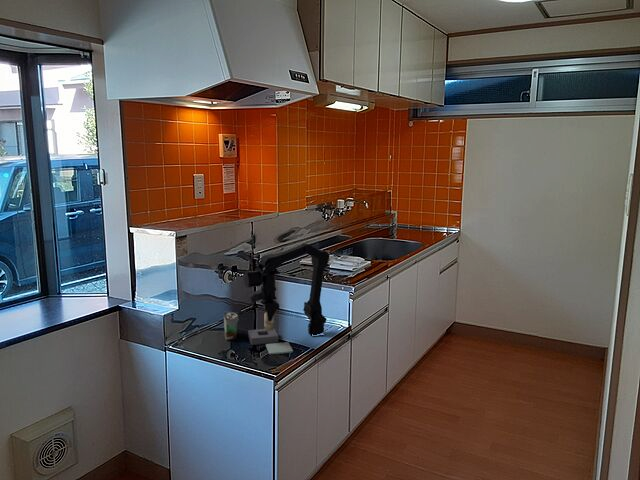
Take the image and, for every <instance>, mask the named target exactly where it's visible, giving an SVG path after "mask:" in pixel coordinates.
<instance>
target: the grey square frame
mask: <svg viewBox="0 0 640 480" xmlns="http://www.w3.org/2000/svg"><path fill="white" fill-rule="evenodd" d="M247 334H248V335H247V337H248V340H249V343H250V345H251V346H253V345H254V346H256V345H266V344H273V343H279V334H278V333H277V331H276V328H274V330H272V331H266V330H264V328H261V329H249V330H247Z"/></svg>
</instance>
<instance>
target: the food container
mask: <svg viewBox="0 0 640 480" xmlns="http://www.w3.org/2000/svg"><path fill="white" fill-rule="evenodd" d="M239 320H240V318H239V316H238V314H237V313H236V312H232V311H223V329H224V330H223V332H224V333H223V334H224V337H225V340H226V341H232V340H235V339H236V338H237V334H238V322H239Z"/></svg>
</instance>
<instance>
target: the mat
mask: <svg viewBox="0 0 640 480" xmlns="http://www.w3.org/2000/svg"><path fill="white" fill-rule="evenodd" d="M265 347H266V349H267V352H268V354H269V355H280V354H289V353H291V354H292V353H294V349H293V348H292V346H291V344H290V343H289V341H287V342H286V341H285V342H278V343H268V344H265Z"/></svg>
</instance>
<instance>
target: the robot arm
mask: <svg viewBox="0 0 640 480" xmlns="http://www.w3.org/2000/svg"><path fill="white" fill-rule="evenodd" d="M304 255H309V256H310V257H311V259H310V260H311V265H312V269H313V270H312V275H311V277H312V278H311V285H310V293H309V298H308V301H304V302H303V310H302V311H303V313H304V315H305V316H306V318H307V320H308V324H307V333H308V335H310V337H311V336H312V334H313V335H317V334H320V333H322V332H324V333H325V324H326V322H327V319H328V318H326V316H324V315H323V309H322V304H321V295H322V294H321V293H322V286H323V279H324V278H323V277H324V271H325V269H326V268H327V266H328V264H329V262H330V254H329V253H328V251H325V250H323V249H320V248H315V247H313V246H312V245H311V244H309V243H305V242H304V243H302V244H300V245H297V246H295V247H292V248H290V249H286V250H283V251H282V252H278V253H270V254H269V253H268V254H264V255H263V256H261V258H260V259H259V261H260V262H259V263H258V264H257V266H256V268H255V270H252V271H250V270H246V272H245V275H244V278H243V282H244V286H245V288H247V289H248V288H254V287H255V288H257V287H260V289H258V290H255V291H252V292H250V293H249V294H248V297H249V299H250V302H251V304H255V303H257V302H259V301H260V303H261V304H262V305H263V310H264V311H265V313H267V316H268V321H271V320H272V318H273V316H275V314H276V312H277V311H278V310H280V303H279V302H278V301H277V296H276V294H277V293H276V291H277V287H276V276H277V275H280V274H281V272H280V271H279V270H278V268H279V267H280V266H282V264H284V263H286V262H289V261H290V260H291V261H292V260H294V259H296V258H298V257H301V256H304Z"/></svg>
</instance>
